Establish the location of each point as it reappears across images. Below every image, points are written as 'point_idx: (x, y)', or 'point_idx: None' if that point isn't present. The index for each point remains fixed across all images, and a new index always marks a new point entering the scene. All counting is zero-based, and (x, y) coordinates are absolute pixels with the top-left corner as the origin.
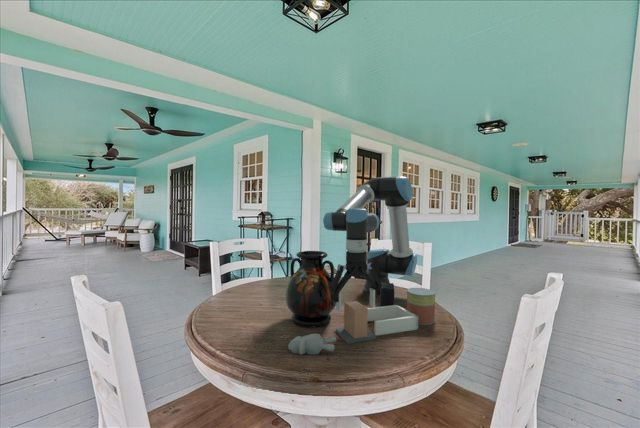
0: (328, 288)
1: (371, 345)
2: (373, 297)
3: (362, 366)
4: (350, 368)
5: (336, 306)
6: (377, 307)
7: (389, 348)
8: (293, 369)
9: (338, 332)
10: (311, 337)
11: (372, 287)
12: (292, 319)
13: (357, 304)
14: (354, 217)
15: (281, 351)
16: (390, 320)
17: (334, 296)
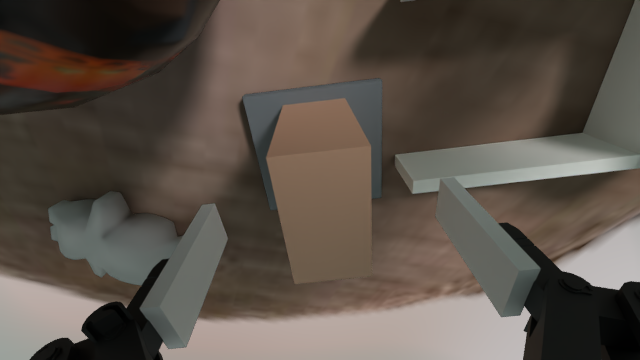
0: (15, 56)
1: None
2: (468, 264)
3: (278, 299)
4: (249, 301)
5: (195, 218)
6: None
7: (386, 245)
8: (111, 291)
9: (251, 129)
10: (119, 267)
11: (541, 294)
12: None
13: (346, 212)
14: None
15: (44, 216)
16: (489, 184)
17: (141, 295)
